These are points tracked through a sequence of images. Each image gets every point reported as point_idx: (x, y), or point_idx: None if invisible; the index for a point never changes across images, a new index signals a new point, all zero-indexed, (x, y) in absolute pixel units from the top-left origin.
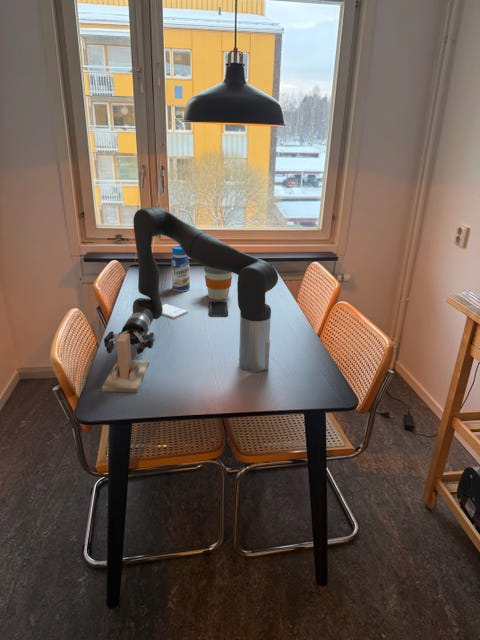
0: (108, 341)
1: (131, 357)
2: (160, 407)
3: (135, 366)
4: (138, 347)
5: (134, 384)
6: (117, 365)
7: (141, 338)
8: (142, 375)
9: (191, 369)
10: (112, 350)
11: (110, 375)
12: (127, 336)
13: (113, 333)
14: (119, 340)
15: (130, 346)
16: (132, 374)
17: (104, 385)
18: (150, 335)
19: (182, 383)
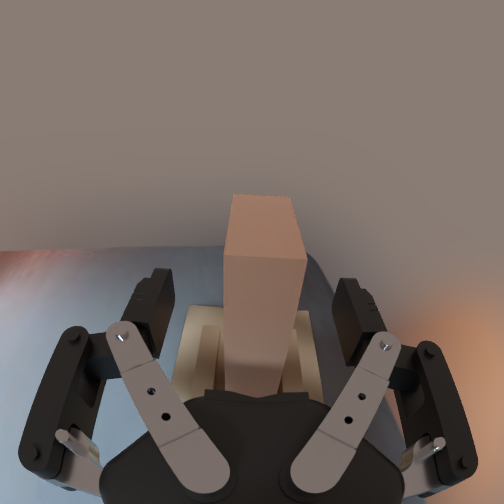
0: (402, 352)
1: (225, 388)
2: (133, 264)
3: (203, 383)
4: (160, 269)
5: (200, 323)
6: (298, 391)
7: (129, 369)
8: (174, 374)
9: (3, 407)
10: (340, 340)
11: (312, 374)
12: (231, 226)
13: (444, 470)
14: (272, 199)
15: (224, 341)
16: (208, 327)
17: (304, 319)
18: (48, 415)
19: (52, 339)
